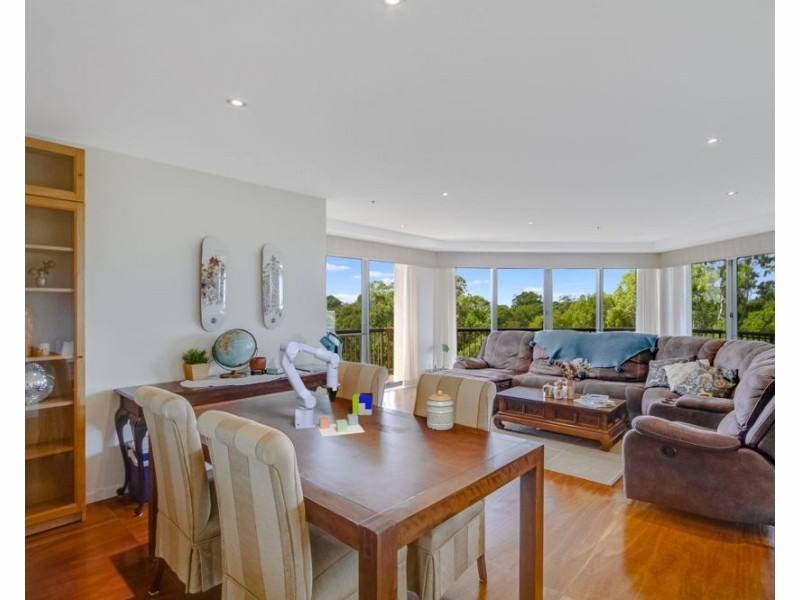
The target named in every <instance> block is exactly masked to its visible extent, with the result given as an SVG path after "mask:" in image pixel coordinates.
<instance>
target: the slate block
mask: <svg viewBox="0 0 800 600" xmlns="http://www.w3.org/2000/svg"><path fill="white" fill-rule="evenodd" d="M346 416H347V417H346V421H347V424H348V425H349V426H355V425H358V424H359V415H357V414H353V413H350V414H349V413H348V414H347V415H346Z"/></svg>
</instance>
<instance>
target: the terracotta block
mask: <svg viewBox="0 0 800 600" xmlns="http://www.w3.org/2000/svg"><path fill="white" fill-rule="evenodd" d="M330 420H331V419H330V417H329V416H328V415H327V416H319V417H318V425H319V427H320V429H326V428H330V424H331V423H330V422H331V421H330Z"/></svg>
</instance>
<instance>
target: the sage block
mask: <svg viewBox="0 0 800 600" xmlns="http://www.w3.org/2000/svg"><path fill="white" fill-rule="evenodd" d="M335 424H336V430H337V432H347V419H336V420H335Z"/></svg>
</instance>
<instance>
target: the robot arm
mask: <svg viewBox="0 0 800 600" xmlns="http://www.w3.org/2000/svg"><path fill="white" fill-rule="evenodd" d="M277 351H278V355H279V356H278V358H279V359H278V360H279V361H278V362H279V365H280V367H281V369H282V371H283V373H284V374H285V376H286V378H287V380H288V382H289V383H290V385H291V387H292V389H293V391H294V392H295V394H294V396H295V399H296V401H295V402H296V404H297V405H298V408H295V409H294V421H293V424H294V428H295V429H296V430H299V429H309V428H315V427H316V426H317V425H316V424H315V414H314V413H315V410H314V409H315V406H317V405H316V404H317V399H316V397H315V396H314V395H312V393H311V392H310V391H309V390H308V388H307V387H306V386H305V384H304V382H303V381H302V379H301V377H300V375H299V373H298V372H297V370H296V367H295V366H294V364H293V360H294V359H295V357H296V356H297V355H298V354H299V353H302V352H304V353H306V354H310V355H312V356H313V357H314V359H317V360H319V361H322V362H324V363H326V387H327V388H326V390H327V392H328V396H329V401H330V402H329V403H336V398H337V394H338V392H339V388H338V386H341V383H339V363H340V361H341V358H340V356H339V354H338V353H335V352H332V350H329V349H328V350H327V349H325V347H318V348H314V347H312V346H309V345H307V344H305V343H301V342H297V341H290V340H282V341H281V342H280V343H279V346H278V349H277Z"/></svg>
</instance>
